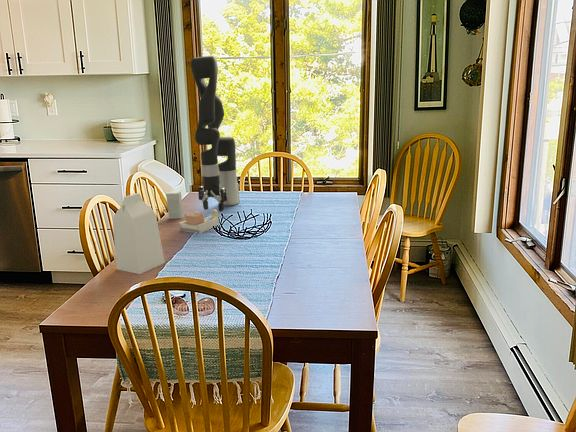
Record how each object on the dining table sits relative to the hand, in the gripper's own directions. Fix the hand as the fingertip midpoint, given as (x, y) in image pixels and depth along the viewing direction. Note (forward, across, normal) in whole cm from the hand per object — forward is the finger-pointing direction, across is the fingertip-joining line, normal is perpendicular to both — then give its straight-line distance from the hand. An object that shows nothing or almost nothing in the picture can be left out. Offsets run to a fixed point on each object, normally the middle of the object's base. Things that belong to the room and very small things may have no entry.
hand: (213, 210), depth 249 cm
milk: (+6, -11, +55) cm, 56 cm away
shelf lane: (+6, 0, +10) cm, 11 cm away
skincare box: (+5, +22, +1) cm, 23 cm away
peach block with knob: (+5, 0, +7) cm, 8 cm away
